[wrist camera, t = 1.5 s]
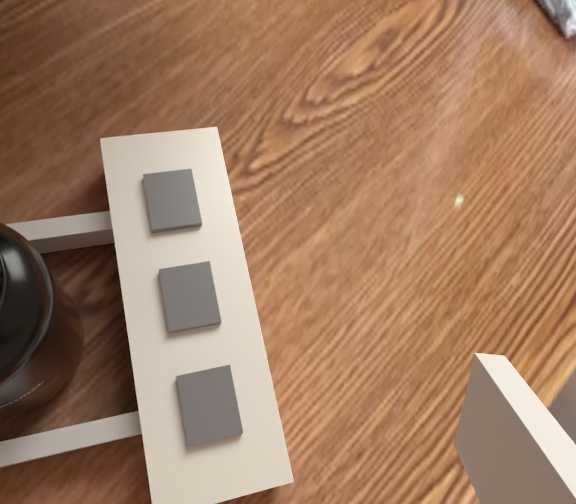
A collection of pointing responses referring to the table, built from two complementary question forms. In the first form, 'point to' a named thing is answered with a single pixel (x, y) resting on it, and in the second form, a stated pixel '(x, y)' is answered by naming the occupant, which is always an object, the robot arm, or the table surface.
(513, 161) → the table surface
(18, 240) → the supplement bottle
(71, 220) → the power strip dock
